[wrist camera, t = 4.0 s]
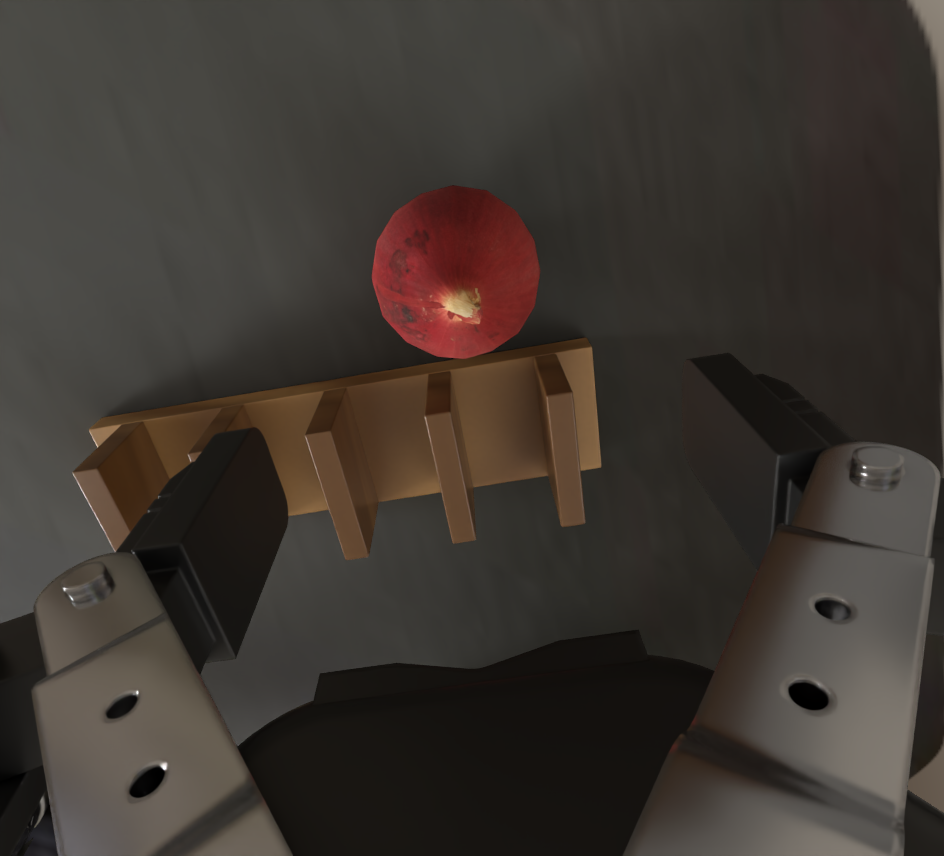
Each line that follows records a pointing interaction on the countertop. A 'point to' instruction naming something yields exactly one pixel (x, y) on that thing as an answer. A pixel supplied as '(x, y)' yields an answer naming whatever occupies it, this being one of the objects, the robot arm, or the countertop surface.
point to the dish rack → (375, 440)
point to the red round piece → (456, 272)
